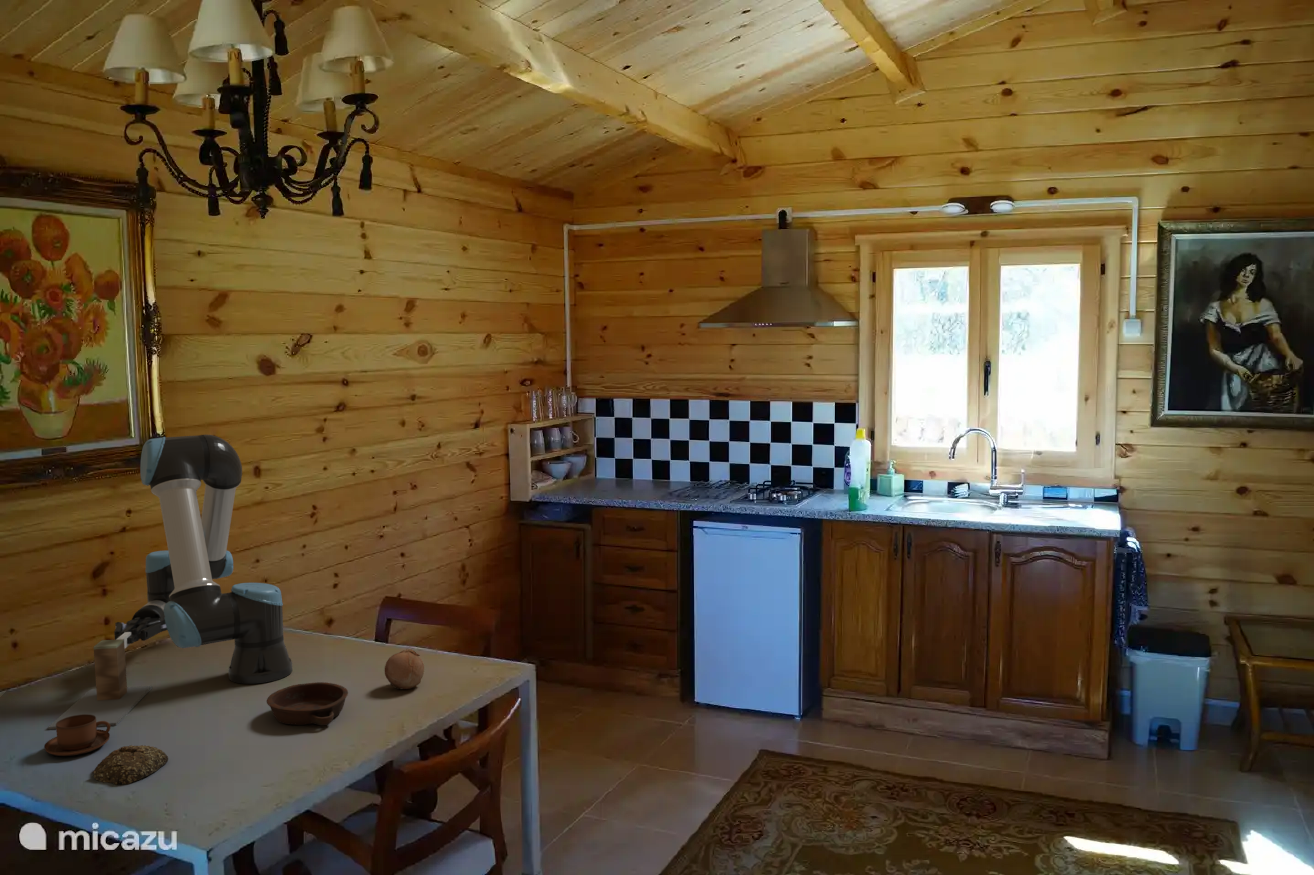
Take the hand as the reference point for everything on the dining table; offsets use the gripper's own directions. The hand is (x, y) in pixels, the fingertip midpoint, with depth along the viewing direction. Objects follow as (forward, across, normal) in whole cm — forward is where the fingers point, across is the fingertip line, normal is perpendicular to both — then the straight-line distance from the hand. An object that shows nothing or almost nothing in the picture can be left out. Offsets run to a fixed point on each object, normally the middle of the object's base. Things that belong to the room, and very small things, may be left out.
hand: (119, 645), depth 249 cm
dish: (+25, -48, -12) cm, 56 cm away
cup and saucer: (+37, -4, -11) cm, 39 cm away
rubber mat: (+13, 0, -11) cm, 17 cm away
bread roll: (+50, -18, -12) cm, 54 cm away
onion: (+10, -68, -11) cm, 70 cm away
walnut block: (+7, 0, -10) cm, 12 cm away
